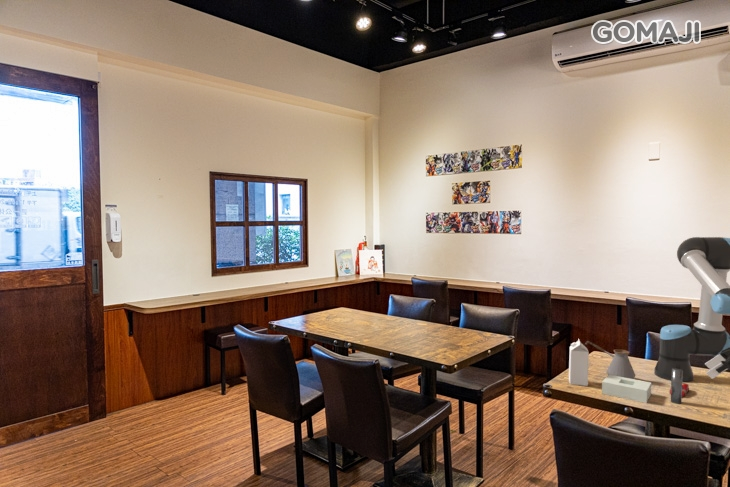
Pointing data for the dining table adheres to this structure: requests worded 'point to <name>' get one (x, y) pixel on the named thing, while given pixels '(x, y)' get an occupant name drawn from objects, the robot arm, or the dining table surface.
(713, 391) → the dining table surface
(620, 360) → the coffee pot
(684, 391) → the race car
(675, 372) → the peg
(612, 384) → the hole block
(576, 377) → the milk carton
